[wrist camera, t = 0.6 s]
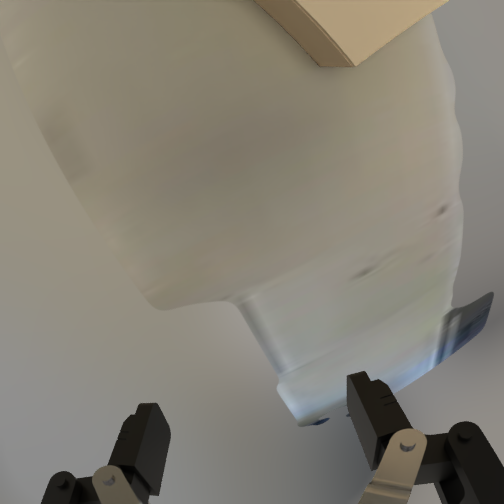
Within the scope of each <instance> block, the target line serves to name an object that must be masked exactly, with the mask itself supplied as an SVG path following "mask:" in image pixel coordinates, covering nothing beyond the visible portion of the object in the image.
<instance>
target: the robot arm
mask: <svg viewBox="0 0 504 504" xmlns="http://www.w3.org/2000/svg"><path fill="white" fill-rule="evenodd" d="M347 407H348V411H349V414H350V417H351V419H352V422H353V424H354V427H355V429H356V432H357V435H358V437H359V440H360V442H361V445H362V447H363V450H364V453H365V455H366V458H367V460H368V463H369V466H370V469H371V471H373V470H376V469H377V471H376V474H375V476H374V478H373V480H372V481H371V483H369V484H368V486H367V488H366V489H365V491H364V493H363V495H362V497H361V499H360V501H359V503H358V504H407V502H408V499H409V497H410V494H411V490H412V487H413V485H419V484H427V483H434V485H435V488H436V490H437V493H438V495H439V498H440V500H441V503H442V504H504V467H503V465H502V463H501V462H500V460H499V458H498V457H497V455H496V453H495V452H494V450H493V448H492V447H491V445H490V443H489V442H488V440H487V439H486V437H485V436H484V434H483V432H482V431H481V429H480V428H479V426H477V425H476V424H475V423H472V422H467V421H464V422H459V423H457V424H455V425H454V426H453V427H451V429H450V430H449V432H448V433H443V434H436V435H425V434H423V433H422V432H420V431H418V430H416V429H413V427H412V426H411V424H410V422H409V421H408V419H407V417H406V415H405V414H404V412H403V410H402V409H401V407H400V405H399V403H398V402H397V400H396V398H395V397H394V395H393V393H392V392H391V390H390V388H389V386H388V385H387V384H385V383H384V382H382V381H381V380H379V379H377V380H374V381H370V379H369V377H368V375H367V373H366V372H365V371H362V372H358V373H354V374H350V375H347ZM170 438H171V432H170V428H169V425H168V423H167V421H166V419H165V417H164V415H163V413H162V411H161V409H160V407H159V405H158V404H157V403H141V404H139V405H138V408H137V410H136V413H135V415H130V416H129V417H128V418H127V419H126V420H125V421H124V422H123V425H122V428H121V430H120V433H119V435H118V440H117V441H116V443H115V446H114V449H113V452H112V454H111V457H110V460H109V463H108V465H107V466H104V467H101V468H99V469H98V470H97V471H96V472H95V473H94V475H93V476H92V477H84V478H77V479H76V478H75V477H74V476H73V475H72V474H71V473H70V472H67V471H61V472H58V473H56V474H55V475H53V476H52V477H51V479H50V481H49V484H48V486H47V488H46V491H45V494H44V496H43V499H42V502H41V504H150V503H149V502H148V499H149V495H155V496H159V492H160V487H161V482H162V477H163V472H164V467H165V462H166V457H167V453H168V448H169V443H170Z"/></svg>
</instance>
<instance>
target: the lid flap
mask: <svg viewBox="0 0 504 504" xmlns="http://www.w3.org/2000/svg"><path fill="white" fill-rule="evenodd" d="M293 1H294V2H295V3H296V4H297V5H298V6H299V7H300V8H301V9H302V10H303V11H304V12H305V13H306V14H307V15H308V16H309V17H310V18H311V19H312V20H313V21H314V22H315V23H316V24H317V25H318V26H319V27H320V28H321V29H322V30H323V32H324V33H325V34H326V35H327V36H328V37H329V38H330V39H331V40H332V42H333V43H334V44H335V45H336V46H337V47H338V49H339V50H340V51H341V52H342V53H343V55H344V56H345V57H346V58H347V59H348V61H349V62H350V63H351V64H352V66H353V67H356V66H357V65H359V64H360V63H361V62H363V61H364V60H365V59H366V58H368V57H369V56H370V55H372V54H373V53H374V52H376V51H377V50H378V49H380V48H381V47H382V46H384V45H385V44H386V43H388V42H389V41H391V40H392V39H393V38H395V37H396V36H397V35H399V34H400V33H402V32H403V31H404V30H406V29H407V28H409V27H410V26H412V25H413V24H414V23H416V22H417V21H419V20H420V19H422V18H423V17H425V16H426V15H428V14H429V13H431V12H432V11H434V10H435V9H437V8H438V7H440V6H441V5H443V4H444V3H446V2H448V1H449V0H293Z"/></svg>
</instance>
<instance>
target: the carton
mask: <svg viewBox="0 0 504 504" xmlns="http://www.w3.org/2000/svg"><path fill="white" fill-rule="evenodd" d="M254 1H255V2H256V3H257V4H258V5H259V6H261V7H262V8H263V9H264V10H265V11H266V12H267V13H268V14H269V15H270V16H271V17H272V18H274V19H275V20H276V21H277V22H278V23H279V24H280V25H281V26H282V27H283V28H284V29H285V30H286V31H287V32H288V33H289V34H290V35H291V36H292V37H293V38H294V39H295V40H296V41H297V42H298V43H299V44H300V46H301V47H302V48H303V49H304V50H305V51H306V52H307V53H308V54H309V55H310V56H311V57H312V58H313V60H314V61H315V62H316V63H317V64H318V65H319V66H328V67H353V66H352V64H351V63H350V62H349V61H348V59H347V58H346V57H345V56H344V55H343V53H342V52H341V51H340V50H339V49H338V47H337V46H336V45H335V44H334V43H333V42H332V40H331V39H330V38H329V37H328V36H327V35H326V34H325V33H324V32H323V30H322V29H321V28H320V27H319V26H318V25H317V24H316V23H315V22H314V21H313V20H312V19H311V18H310V17H309V16H308V15H307V14H306V13H305V12H304V11H303V10H302V9H301V8H300V7H299V6H298V5H297V4H296V3H295V2H294V1H293V0H254Z"/></svg>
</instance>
